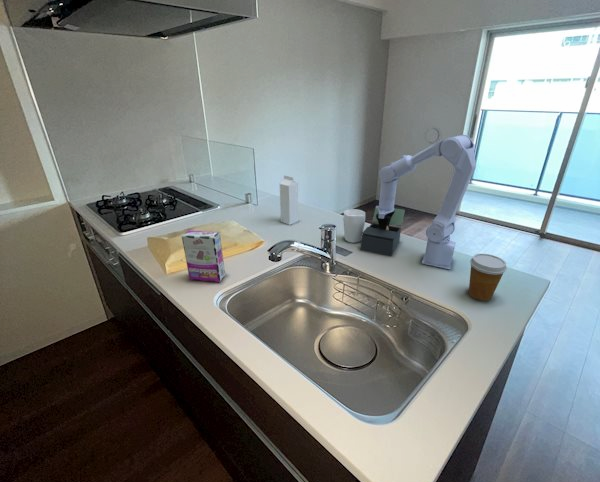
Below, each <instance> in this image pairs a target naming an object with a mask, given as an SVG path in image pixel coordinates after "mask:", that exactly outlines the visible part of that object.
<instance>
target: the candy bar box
mask: <svg viewBox="0 0 600 482" xmlns="http://www.w3.org/2000/svg"><path fill="white" fill-rule="evenodd" d="M181 239H182V245H183V250H184V251H183V252H184V256H185V261H186V262H185V263H186V267H187V272H188V278H189V281H197V282H199V281H200V282H212V283H213V282H214V283H221V282H222V280H223V279H225V277H226V269H225V262H224V255H223V246H222V239H221V231H207V230H191V229H190V230H187V231H185V232H184V233H183V234H182V235H181Z"/></svg>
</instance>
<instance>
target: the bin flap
mask: <svg viewBox="0 0 600 482" xmlns="http://www.w3.org/2000/svg"><path fill="white" fill-rule="evenodd" d="M394 211H395V213H394V214H393V216H392V218H391V220H390V223H389V225H390V226H396V227H402V225H403V221H404V216H405V213H406V209H402V208H395V207H394ZM376 214H379V211H378V209H376V207H375V208H374V213H373V217H372V223H378V220H377V218H376Z"/></svg>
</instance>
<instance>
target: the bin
mask: <svg viewBox="0 0 600 482" xmlns="http://www.w3.org/2000/svg"><path fill="white" fill-rule="evenodd" d="M388 228H389V230H383V229H379V223H377V222H372V223H371V224H370V225H369V226H367V227H366V228H365V229H363V233H362V237H361V241H360V242H361V243H360V251H363V252H368V253H373V254H377V255H383V256H388V257H393V254H394V253H395V251H396V249H397V247H398V245H399V244H400V239H401V233H402V227H400V226H394V225H389V226H388Z"/></svg>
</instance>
